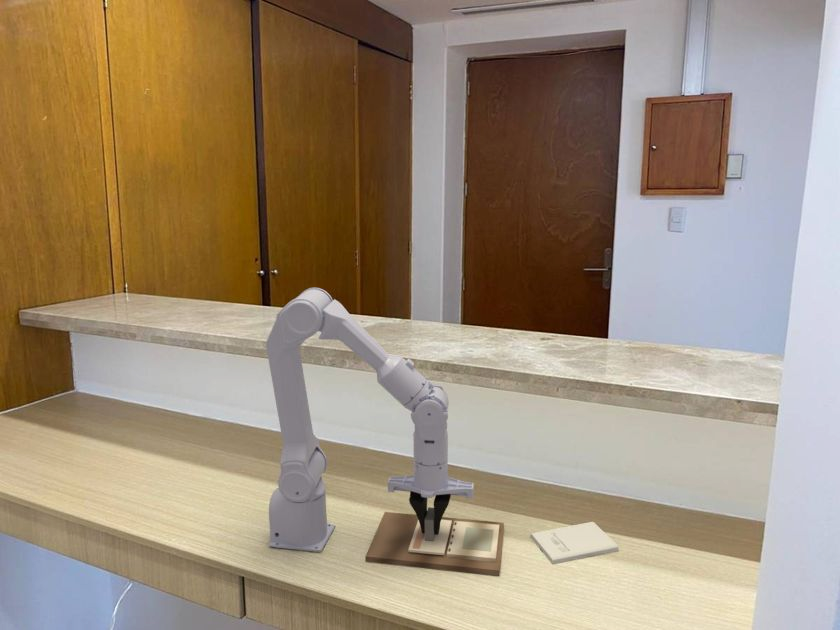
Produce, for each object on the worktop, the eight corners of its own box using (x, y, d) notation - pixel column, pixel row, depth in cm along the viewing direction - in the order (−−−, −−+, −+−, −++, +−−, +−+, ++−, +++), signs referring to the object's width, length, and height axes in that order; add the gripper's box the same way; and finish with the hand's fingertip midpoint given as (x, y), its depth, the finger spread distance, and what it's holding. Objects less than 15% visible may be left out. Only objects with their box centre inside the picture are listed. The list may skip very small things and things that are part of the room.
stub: (408, 551, 106) (408, 528, 105) (419, 519, 115) (418, 497, 114) (444, 555, 105) (444, 531, 104) (451, 522, 114) (452, 500, 113)
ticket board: (365, 561, 105) (365, 552, 105) (384, 516, 119) (384, 507, 118) (499, 575, 101) (499, 565, 101) (503, 527, 115) (503, 518, 114)
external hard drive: (618, 554, 108) (552, 567, 104) (592, 528, 116) (529, 539, 112) (618, 545, 107) (552, 558, 104) (592, 520, 115) (530, 531, 112)
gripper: (382, 465, 104) (384, 539, 107) (471, 472, 101) (470, 548, 105) (392, 447, 111) (393, 517, 114) (475, 453, 108) (474, 525, 111)
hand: (430, 530), depth 110 cm, fingers closed on stub
